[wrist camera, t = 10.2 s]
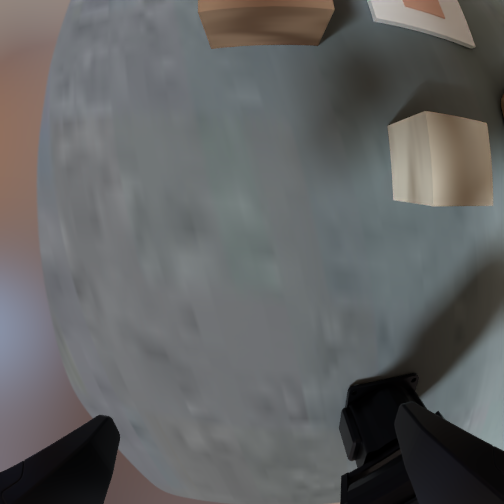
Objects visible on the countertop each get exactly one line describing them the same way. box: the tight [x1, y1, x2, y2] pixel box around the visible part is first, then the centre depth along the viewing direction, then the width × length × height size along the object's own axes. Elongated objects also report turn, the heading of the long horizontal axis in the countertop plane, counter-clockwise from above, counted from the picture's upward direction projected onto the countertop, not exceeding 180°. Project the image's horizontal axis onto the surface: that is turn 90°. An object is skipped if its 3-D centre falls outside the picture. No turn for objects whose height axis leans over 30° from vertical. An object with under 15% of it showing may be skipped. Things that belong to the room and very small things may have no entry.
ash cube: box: [387, 111, 493, 206], centre depth 14 cm, size 5×5×5 cm
